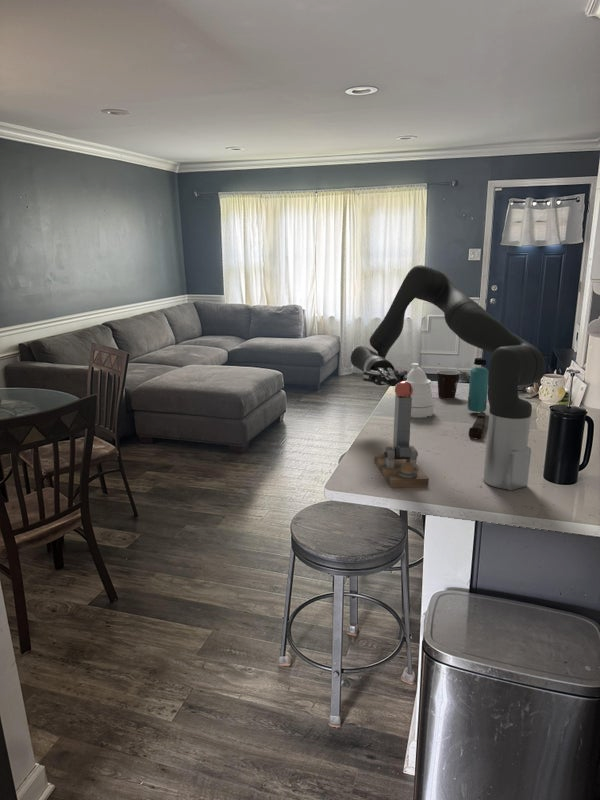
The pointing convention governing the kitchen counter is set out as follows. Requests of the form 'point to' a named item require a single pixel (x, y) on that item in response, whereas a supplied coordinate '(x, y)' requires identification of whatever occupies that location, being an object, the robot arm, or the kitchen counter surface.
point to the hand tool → (478, 426)
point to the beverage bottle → (478, 387)
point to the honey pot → (420, 393)
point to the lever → (402, 420)
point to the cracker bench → (398, 480)
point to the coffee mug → (447, 383)
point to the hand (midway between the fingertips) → (393, 382)
